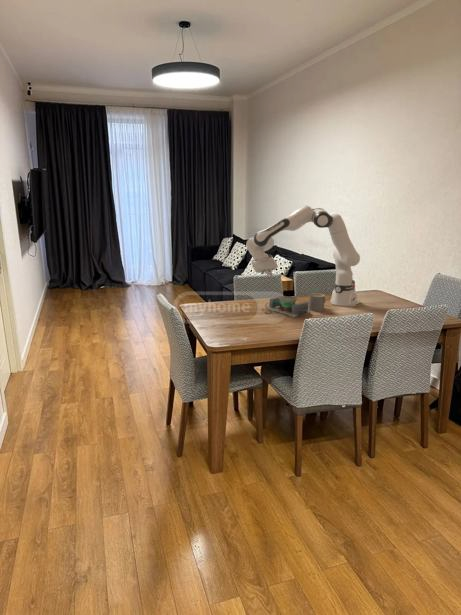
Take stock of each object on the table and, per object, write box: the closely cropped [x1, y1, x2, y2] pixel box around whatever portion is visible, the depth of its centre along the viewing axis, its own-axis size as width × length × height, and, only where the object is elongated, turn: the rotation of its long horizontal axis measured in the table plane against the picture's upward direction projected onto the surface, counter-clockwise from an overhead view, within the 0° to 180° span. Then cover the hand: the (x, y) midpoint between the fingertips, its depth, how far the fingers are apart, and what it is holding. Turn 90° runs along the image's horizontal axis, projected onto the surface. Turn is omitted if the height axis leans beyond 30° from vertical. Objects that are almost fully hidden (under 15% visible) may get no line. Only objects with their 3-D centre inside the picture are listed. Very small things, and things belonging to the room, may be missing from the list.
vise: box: [266, 300, 311, 318], centre depth 288 cm, size 16×23×7 cm
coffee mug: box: [308, 292, 326, 313], centre depth 293 cm, size 13×10×10 cm
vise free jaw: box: [269, 295, 287, 308], centre depth 294 cm, size 14×3×6 cm, turn 134°
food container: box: [278, 295, 298, 312], centre depth 286 cm, size 12×6×10 cm, turn 97°
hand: (270, 275), depth 295 cm, fingers closed
